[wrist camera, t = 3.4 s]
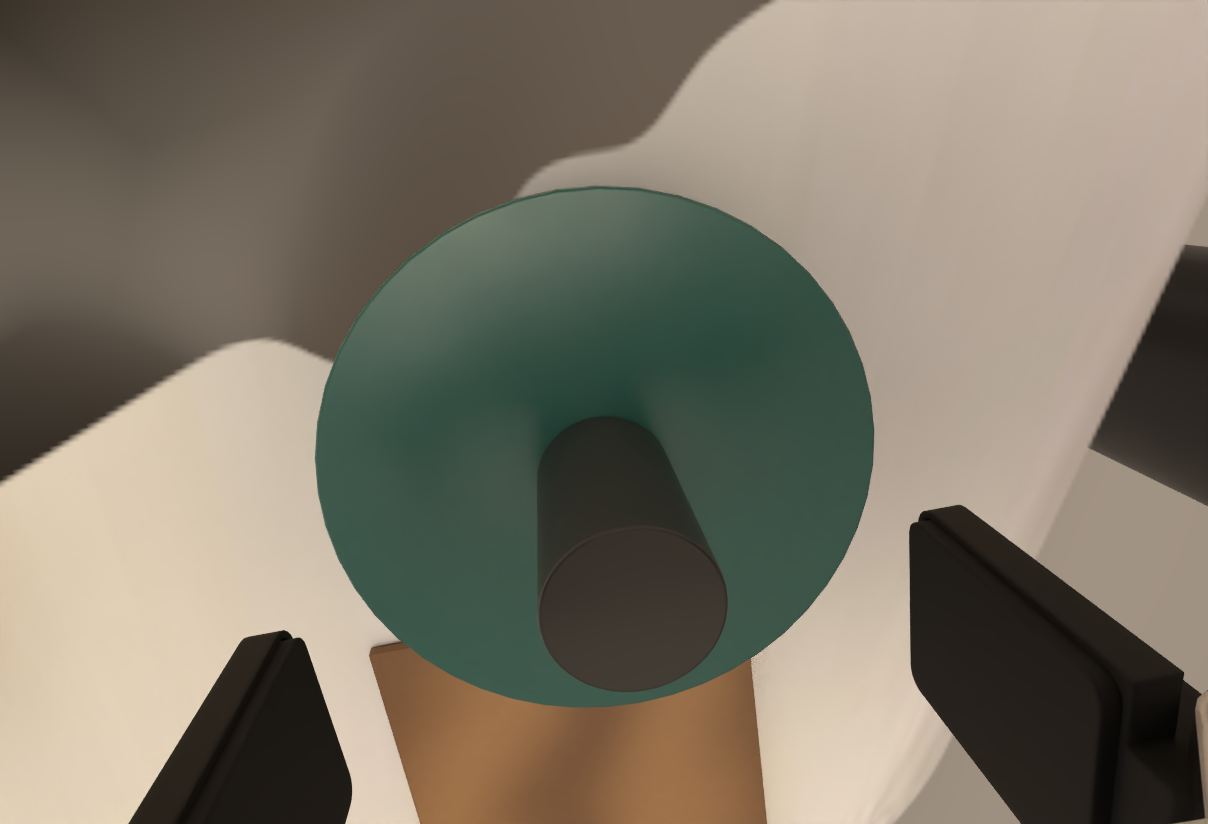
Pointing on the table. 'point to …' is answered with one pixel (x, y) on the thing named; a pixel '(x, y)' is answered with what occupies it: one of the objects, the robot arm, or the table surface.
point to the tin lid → (594, 446)
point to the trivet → (572, 752)
